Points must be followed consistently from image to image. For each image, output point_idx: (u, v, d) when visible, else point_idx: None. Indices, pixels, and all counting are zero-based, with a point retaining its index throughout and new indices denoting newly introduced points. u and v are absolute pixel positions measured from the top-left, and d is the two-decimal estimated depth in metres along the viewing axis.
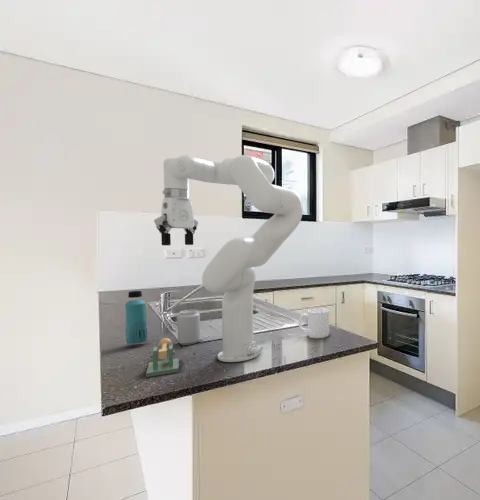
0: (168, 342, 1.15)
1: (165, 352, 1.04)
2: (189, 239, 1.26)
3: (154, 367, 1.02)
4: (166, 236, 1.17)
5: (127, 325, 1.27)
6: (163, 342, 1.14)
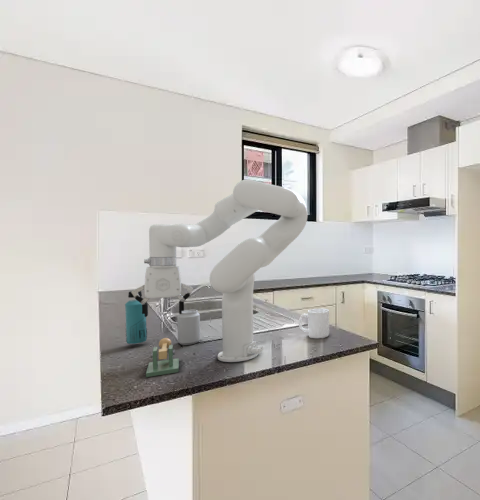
0: (168, 342, 1.15)
1: (165, 352, 1.04)
2: (179, 307, 1.17)
3: (154, 367, 1.02)
4: (143, 307, 1.12)
5: (127, 325, 1.27)
6: (163, 342, 1.14)
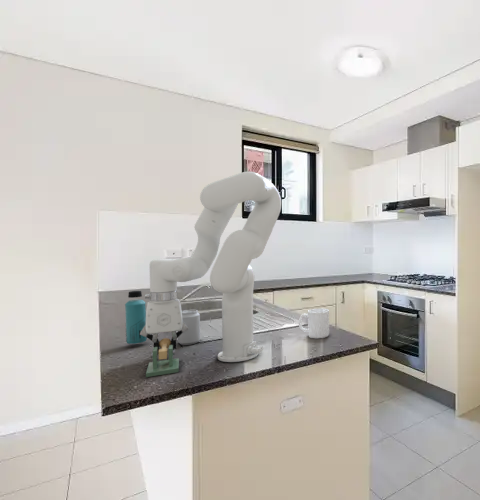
0: (168, 342, 1.15)
1: (165, 352, 1.04)
2: None
3: (154, 367, 1.02)
4: (155, 345, 1.14)
5: (127, 325, 1.27)
6: (163, 342, 1.14)
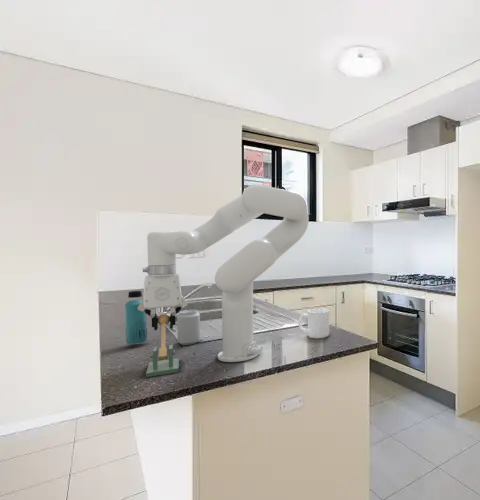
0: (167, 321, 1.12)
1: (165, 356, 1.04)
2: (170, 322, 1.12)
3: (154, 367, 1.02)
4: (153, 320, 1.10)
5: (127, 325, 1.27)
6: (162, 322, 1.11)
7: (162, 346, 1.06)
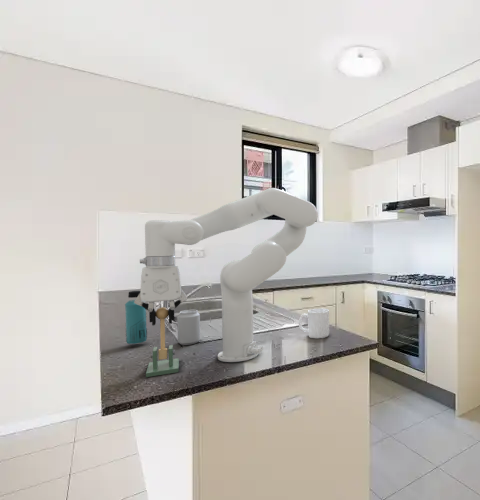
0: (166, 317, 1.06)
1: (165, 358, 1.05)
2: None
3: (154, 367, 1.02)
4: (151, 315, 1.03)
5: (127, 325, 1.27)
6: (160, 318, 1.05)
7: (162, 346, 1.05)
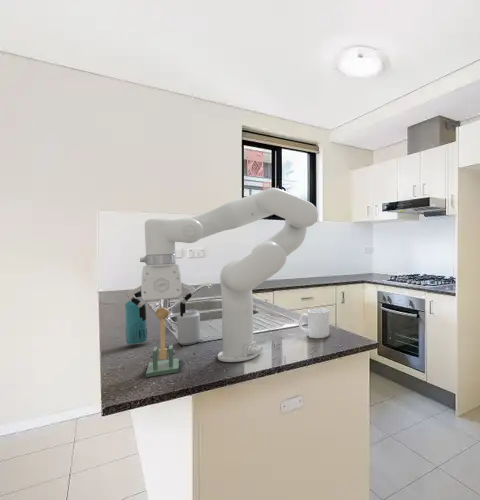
0: (166, 317, 1.06)
1: (165, 358, 1.05)
2: (180, 310, 1.07)
3: (154, 367, 1.02)
4: (141, 310, 1.02)
5: (127, 325, 1.27)
6: (160, 318, 1.05)
7: (162, 346, 1.05)
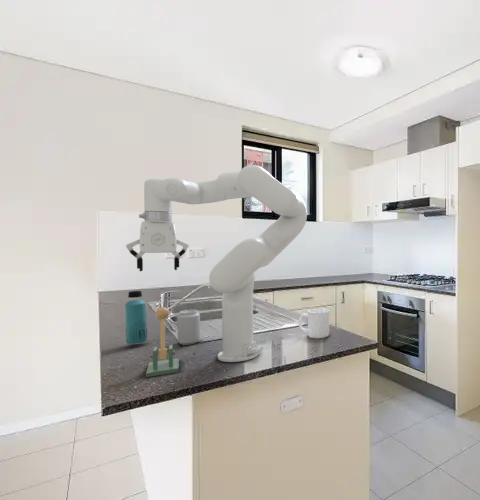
0: (166, 317, 1.06)
1: (165, 358, 1.05)
2: (174, 264, 1.17)
3: (154, 367, 1.02)
4: (138, 261, 1.12)
5: (127, 325, 1.27)
6: (160, 318, 1.05)
7: (162, 346, 1.05)
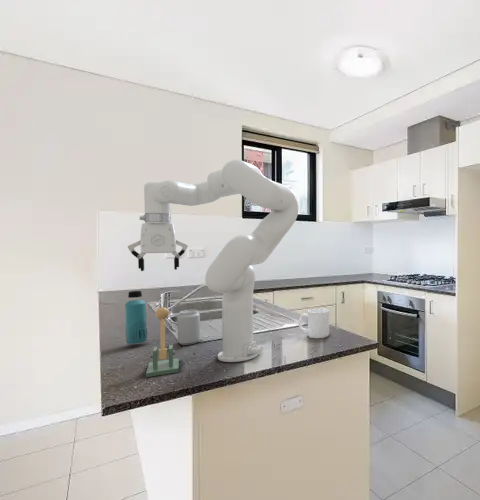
0: (166, 317, 1.06)
1: (165, 358, 1.05)
2: (174, 264, 1.22)
3: (154, 367, 1.02)
4: (139, 262, 1.17)
5: (127, 325, 1.27)
6: (160, 318, 1.05)
7: (162, 346, 1.05)
